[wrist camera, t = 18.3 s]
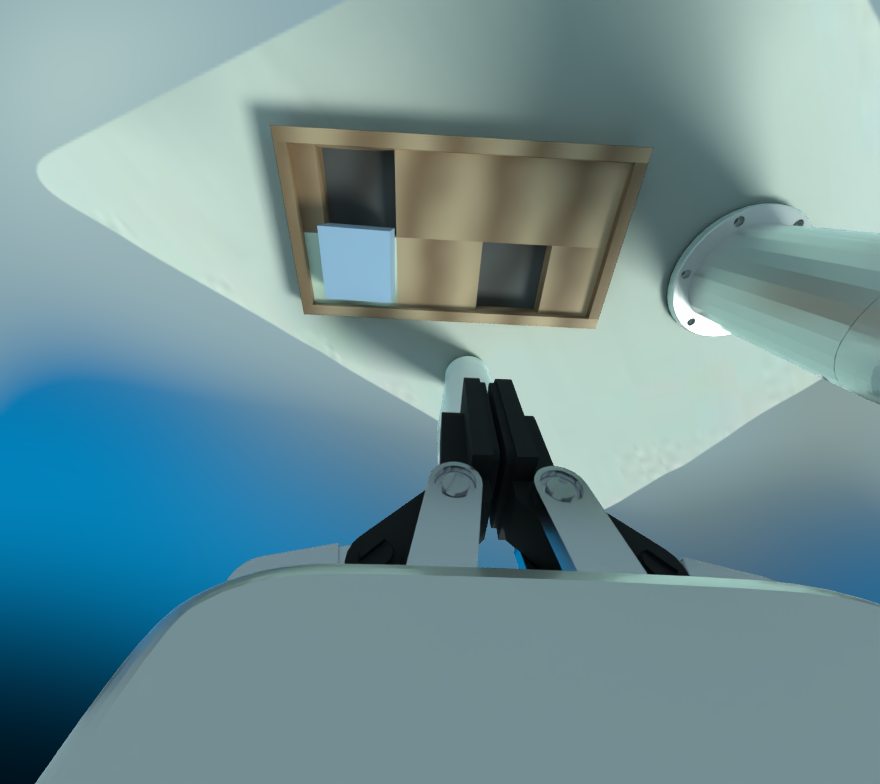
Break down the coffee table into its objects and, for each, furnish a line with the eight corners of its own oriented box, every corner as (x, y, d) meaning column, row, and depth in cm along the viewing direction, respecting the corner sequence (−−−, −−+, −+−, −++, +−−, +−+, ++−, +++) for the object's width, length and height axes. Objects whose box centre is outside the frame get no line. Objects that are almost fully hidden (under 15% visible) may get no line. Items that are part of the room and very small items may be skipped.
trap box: (635, 151, 28) (653, 147, 25) (585, 319, 36) (595, 328, 33) (285, 131, 27) (270, 125, 25) (313, 305, 35) (304, 314, 33)
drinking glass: (436, 351, 38) (431, 431, 25) (493, 345, 37) (519, 424, 25) (442, 399, 41) (441, 491, 29) (495, 394, 41) (518, 485, 28)
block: (394, 228, 29) (389, 231, 27) (394, 294, 32) (390, 303, 30) (328, 222, 29) (317, 225, 27) (335, 289, 32) (325, 298, 30)
